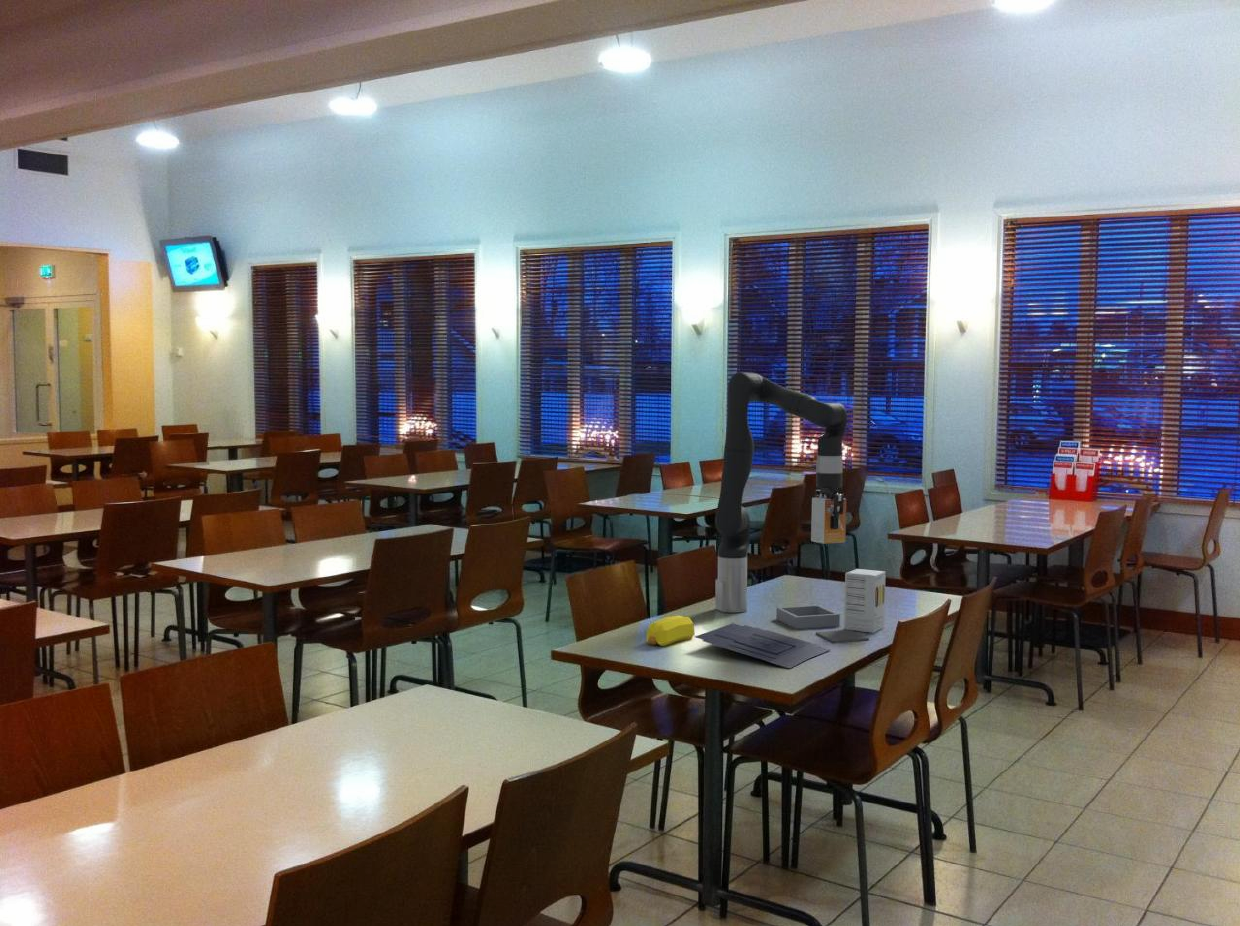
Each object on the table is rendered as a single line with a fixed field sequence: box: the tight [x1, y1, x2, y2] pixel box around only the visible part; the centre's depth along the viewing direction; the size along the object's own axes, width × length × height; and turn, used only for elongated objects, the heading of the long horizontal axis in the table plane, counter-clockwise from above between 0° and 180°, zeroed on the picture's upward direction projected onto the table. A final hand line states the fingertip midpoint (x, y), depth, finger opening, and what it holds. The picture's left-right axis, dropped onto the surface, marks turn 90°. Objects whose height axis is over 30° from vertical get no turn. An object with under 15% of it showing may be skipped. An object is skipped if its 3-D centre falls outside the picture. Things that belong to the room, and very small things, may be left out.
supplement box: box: [843, 568, 886, 634], centre depth 321 cm, size 10×9×17 cm
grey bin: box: [775, 604, 841, 630], centre depth 329 cm, size 14×14×4 cm
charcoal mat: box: [815, 629, 870, 644], centre depth 310 cm, size 11×11×1 cm
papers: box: [694, 622, 831, 669], centre depth 294 cm, size 24×30×4 cm
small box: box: [810, 497, 847, 545], centre depth 321 cm, size 8×6×13 cm
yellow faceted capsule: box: [646, 614, 696, 647], centre depth 306 cm, size 18×7×8 cm
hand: (828, 527), depth 321 cm, fingers closed on small box, 7 cm apart
